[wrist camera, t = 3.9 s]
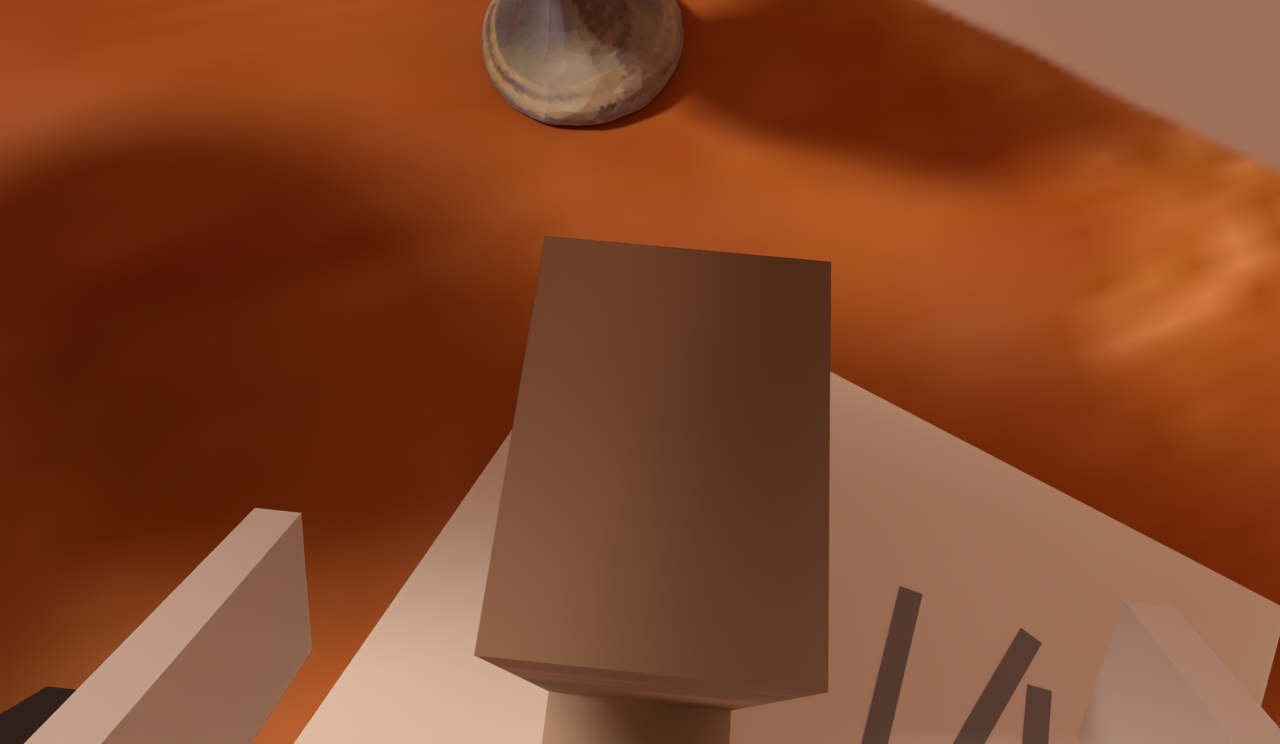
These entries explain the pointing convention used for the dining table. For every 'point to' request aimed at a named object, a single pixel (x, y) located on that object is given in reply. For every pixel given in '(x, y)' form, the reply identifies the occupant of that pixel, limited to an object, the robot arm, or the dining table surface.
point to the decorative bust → (581, 56)
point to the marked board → (848, 609)
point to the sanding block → (666, 493)
